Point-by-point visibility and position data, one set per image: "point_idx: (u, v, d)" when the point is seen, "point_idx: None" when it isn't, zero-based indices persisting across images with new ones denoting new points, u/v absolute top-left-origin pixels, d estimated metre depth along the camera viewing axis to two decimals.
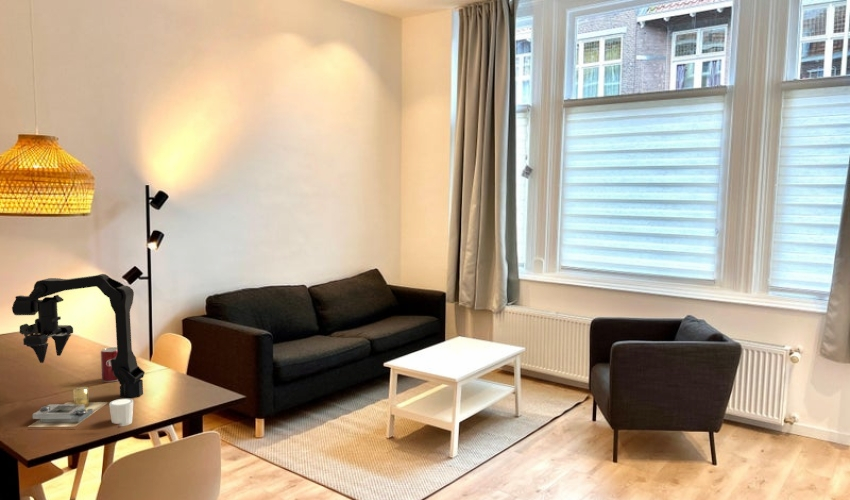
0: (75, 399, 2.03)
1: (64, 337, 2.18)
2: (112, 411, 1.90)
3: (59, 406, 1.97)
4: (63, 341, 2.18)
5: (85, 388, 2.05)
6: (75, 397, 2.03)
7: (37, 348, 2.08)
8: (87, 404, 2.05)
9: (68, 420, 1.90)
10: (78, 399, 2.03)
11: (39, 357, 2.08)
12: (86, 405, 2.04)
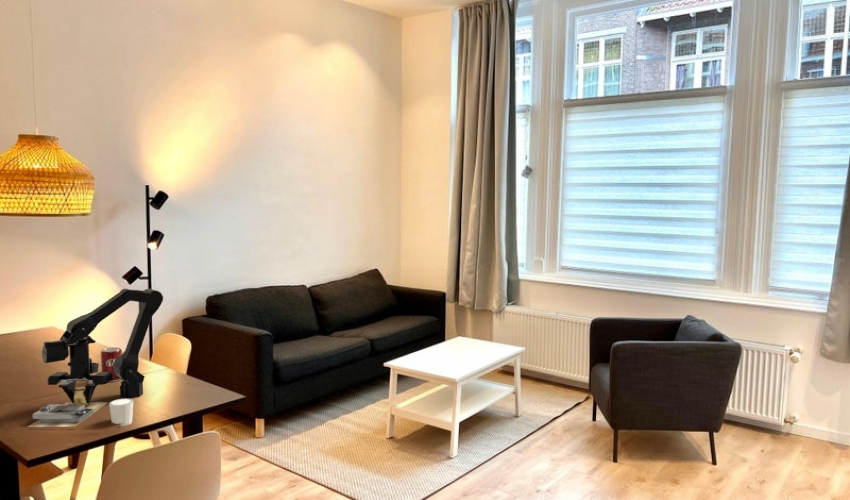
0: (75, 399, 2.03)
1: None
2: (112, 411, 1.90)
3: (59, 406, 1.97)
4: None
5: None
6: (75, 397, 2.03)
7: None
8: (87, 404, 2.05)
9: (68, 420, 1.90)
10: (78, 399, 2.03)
11: None
12: (86, 405, 2.04)
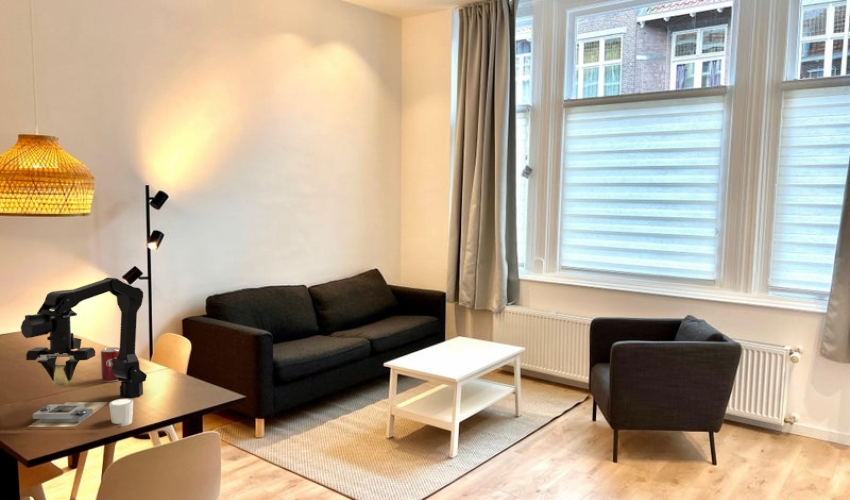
0: (55, 375, 1.91)
1: None
2: (112, 411, 1.90)
3: (59, 406, 1.97)
4: None
5: None
6: (55, 373, 1.91)
7: None
8: (68, 381, 1.93)
9: (68, 420, 1.90)
10: (58, 375, 1.91)
11: None
12: (67, 382, 1.93)
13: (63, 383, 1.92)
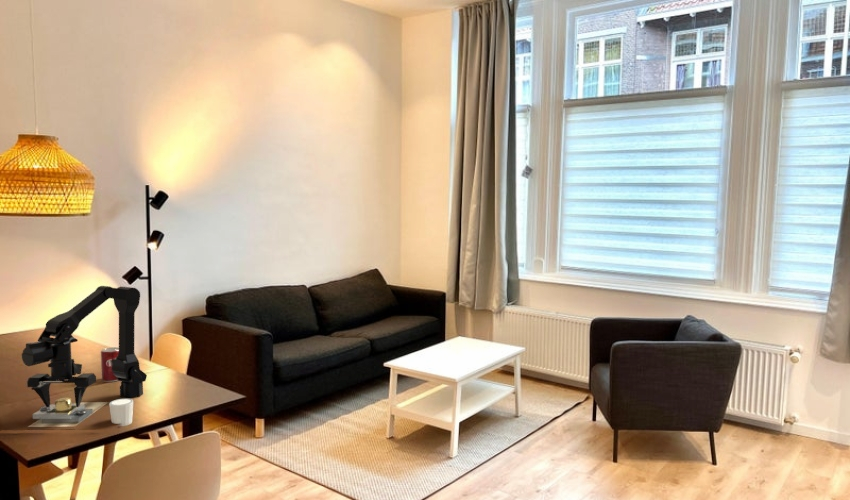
0: (57, 411, 1.92)
1: None
2: (112, 411, 1.90)
3: None
4: None
5: (68, 399, 1.94)
6: (57, 409, 1.92)
7: None
8: None
9: (68, 420, 1.90)
10: (60, 410, 1.92)
11: None
12: None
13: None
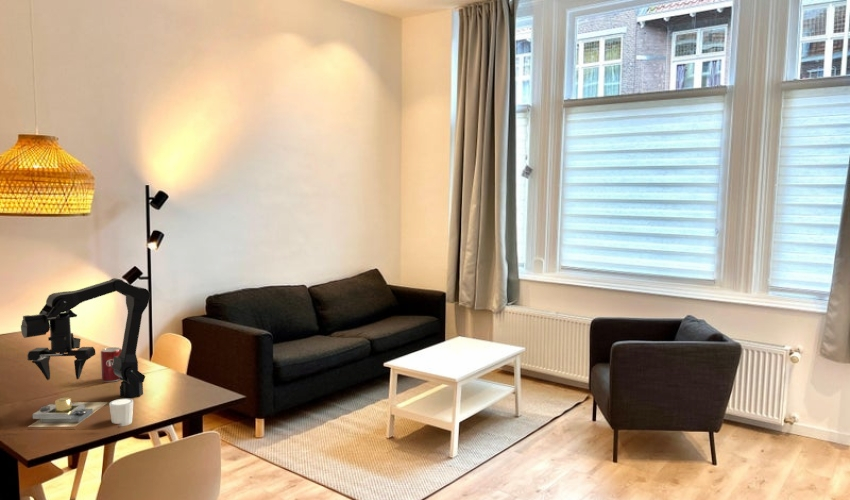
0: (57, 411, 1.92)
1: None
2: (112, 411, 1.90)
3: None
4: None
5: (68, 399, 1.94)
6: (57, 409, 1.92)
7: None
8: None
9: (68, 420, 1.90)
10: (60, 410, 1.92)
11: None
12: None
13: None
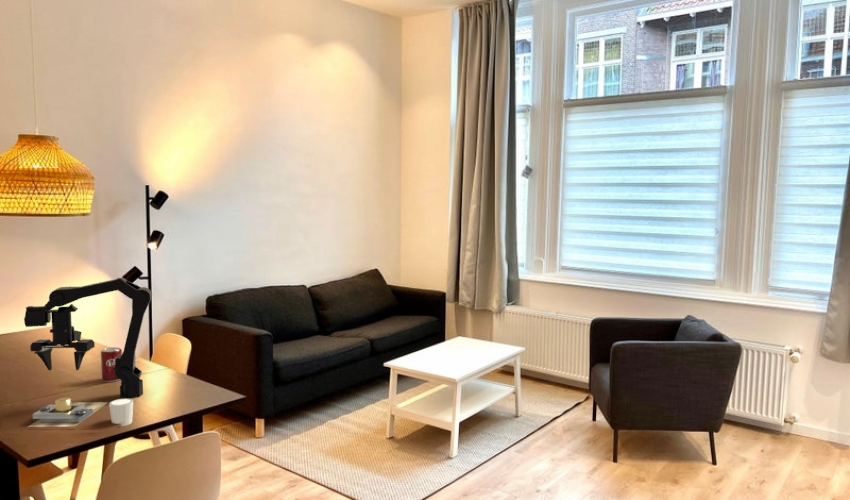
0: (57, 411, 1.92)
1: None
2: (112, 411, 1.90)
3: None
4: None
5: (68, 399, 1.94)
6: (57, 409, 1.92)
7: None
8: None
9: (68, 420, 1.90)
10: (60, 410, 1.92)
11: None
12: None
13: None
